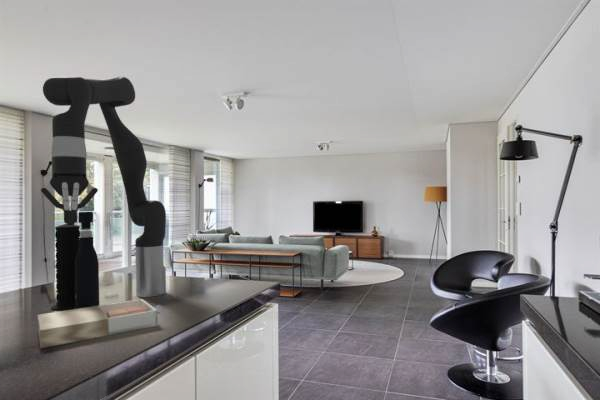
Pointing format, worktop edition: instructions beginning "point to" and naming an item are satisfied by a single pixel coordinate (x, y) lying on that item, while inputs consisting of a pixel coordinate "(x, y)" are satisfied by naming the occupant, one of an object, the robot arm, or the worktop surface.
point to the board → (72, 326)
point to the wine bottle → (86, 266)
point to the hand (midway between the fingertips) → (70, 225)
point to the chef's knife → (159, 308)
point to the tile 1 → (117, 313)
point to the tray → (130, 317)
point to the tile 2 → (136, 309)
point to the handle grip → (66, 265)
